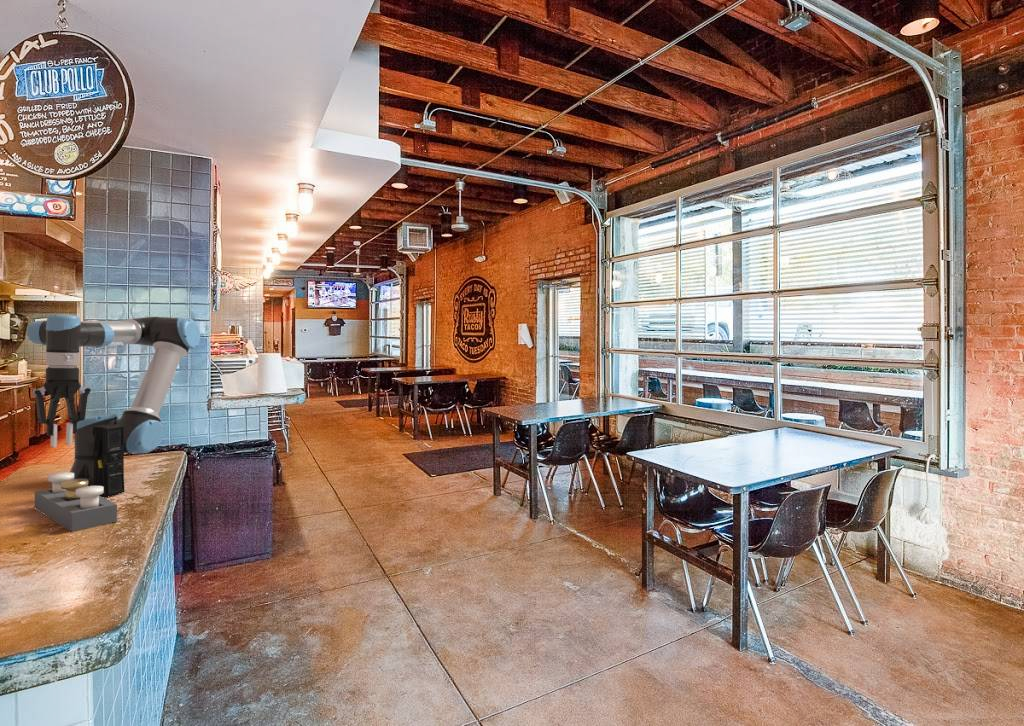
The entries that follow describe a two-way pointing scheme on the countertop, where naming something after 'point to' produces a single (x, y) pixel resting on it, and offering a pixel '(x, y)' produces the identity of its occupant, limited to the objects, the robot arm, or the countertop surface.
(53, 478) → the knob near arm
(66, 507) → the console
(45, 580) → the countertop surface
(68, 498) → the brass knob
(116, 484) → the portable radio
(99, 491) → the knob far
